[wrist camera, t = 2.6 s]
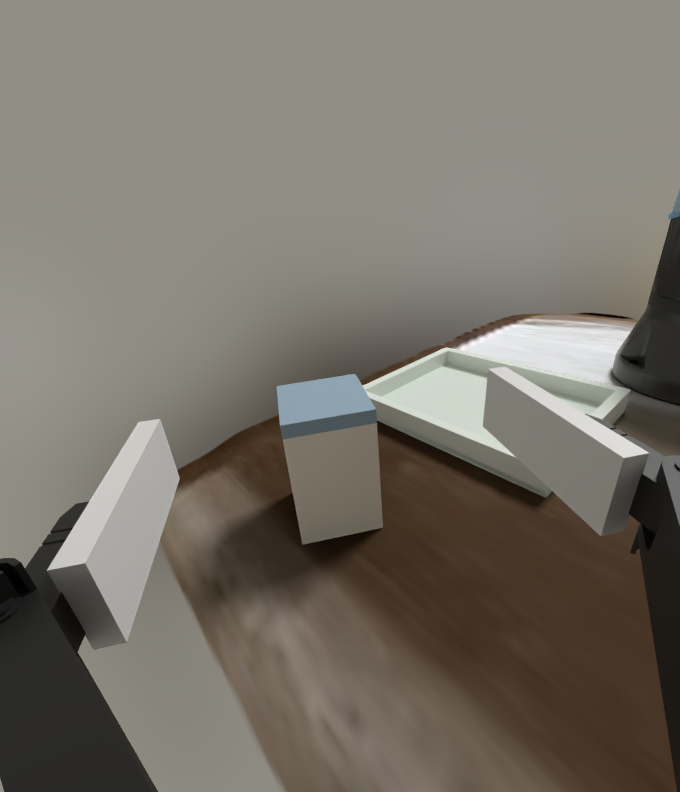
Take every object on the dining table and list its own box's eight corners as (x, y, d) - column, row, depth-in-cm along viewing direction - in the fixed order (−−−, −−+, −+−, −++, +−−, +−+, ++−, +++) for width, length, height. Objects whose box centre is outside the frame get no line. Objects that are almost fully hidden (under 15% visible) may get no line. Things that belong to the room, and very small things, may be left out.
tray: (445, 363, 55) (445, 347, 54) (625, 411, 39) (631, 389, 38) (353, 409, 45) (352, 390, 44) (545, 498, 29) (551, 471, 28)
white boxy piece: (363, 478, 33) (355, 373, 29) (382, 527, 28) (376, 409, 24) (295, 491, 33) (276, 386, 28) (302, 544, 27) (280, 425, 23)
